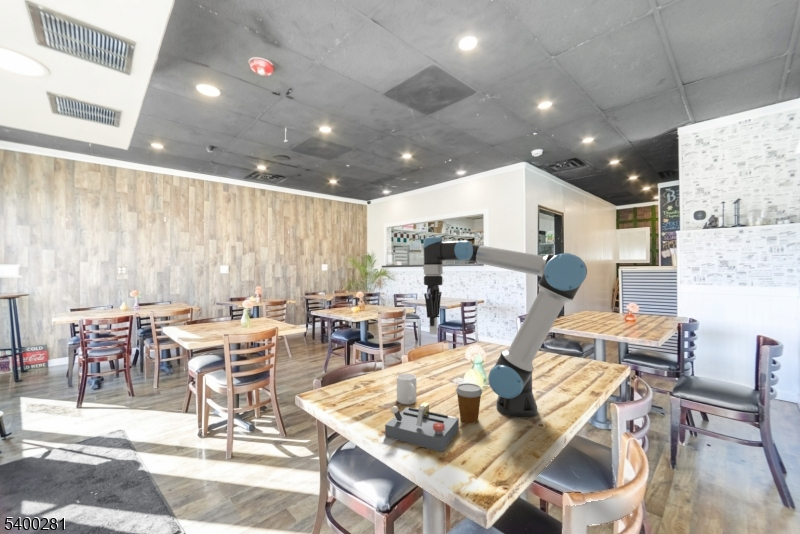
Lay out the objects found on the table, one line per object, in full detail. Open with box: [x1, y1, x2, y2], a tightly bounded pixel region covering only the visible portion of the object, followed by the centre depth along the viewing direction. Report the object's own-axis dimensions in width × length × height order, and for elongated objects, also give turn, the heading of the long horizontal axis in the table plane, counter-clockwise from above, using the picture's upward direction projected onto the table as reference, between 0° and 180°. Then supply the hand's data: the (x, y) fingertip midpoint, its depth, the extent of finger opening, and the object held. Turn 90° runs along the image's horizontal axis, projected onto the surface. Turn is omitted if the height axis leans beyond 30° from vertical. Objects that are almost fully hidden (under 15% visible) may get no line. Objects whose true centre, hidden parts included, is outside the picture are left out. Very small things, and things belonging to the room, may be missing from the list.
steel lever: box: [416, 404, 425, 427], centre depth 109 cm, size 2×2×6 cm
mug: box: [396, 373, 417, 406], centre depth 139 cm, size 12×8×10 cm
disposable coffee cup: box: [455, 382, 483, 425], centre depth 122 cm, size 10×10×12 cm
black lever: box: [391, 405, 402, 421], centre depth 111 cm, size 2×2×6 cm
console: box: [384, 406, 460, 453], centre depth 113 cm, size 20×16×5 cm
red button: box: [433, 423, 445, 436], centre depth 104 cm, size 4×4×3 cm
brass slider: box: [421, 402, 430, 416], centre depth 117 cm, size 2×3×4 cm, turn 152°
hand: (433, 333), depth 135 cm, fingers closed
